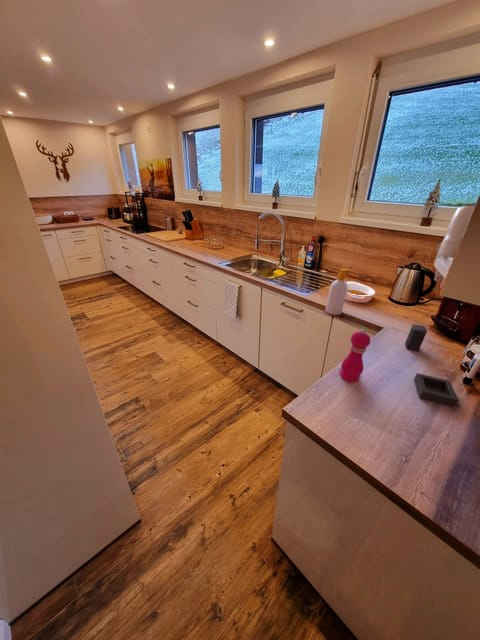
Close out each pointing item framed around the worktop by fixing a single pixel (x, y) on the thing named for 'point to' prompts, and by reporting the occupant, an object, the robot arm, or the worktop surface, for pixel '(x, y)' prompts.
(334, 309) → the soap bottle
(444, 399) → the base pad
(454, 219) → the robot arm
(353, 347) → the pepper mill
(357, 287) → the white oval dish
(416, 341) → the dark grey block
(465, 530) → the worktop surface
